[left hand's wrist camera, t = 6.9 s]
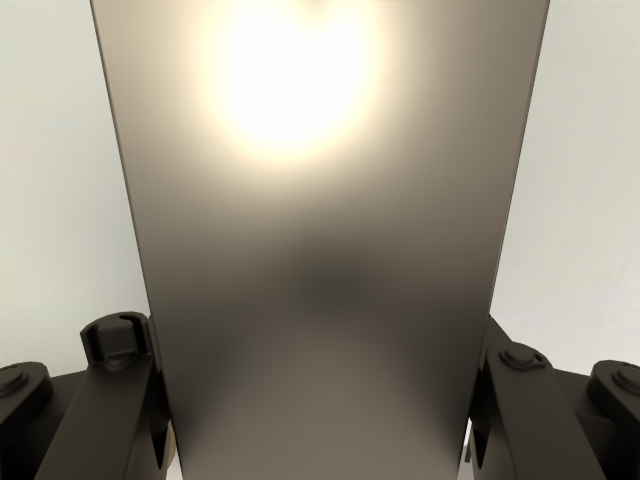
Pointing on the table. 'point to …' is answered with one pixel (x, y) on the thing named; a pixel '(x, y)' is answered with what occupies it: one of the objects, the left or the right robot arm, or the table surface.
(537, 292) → the table surface
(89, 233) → the table surface
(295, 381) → the bar
